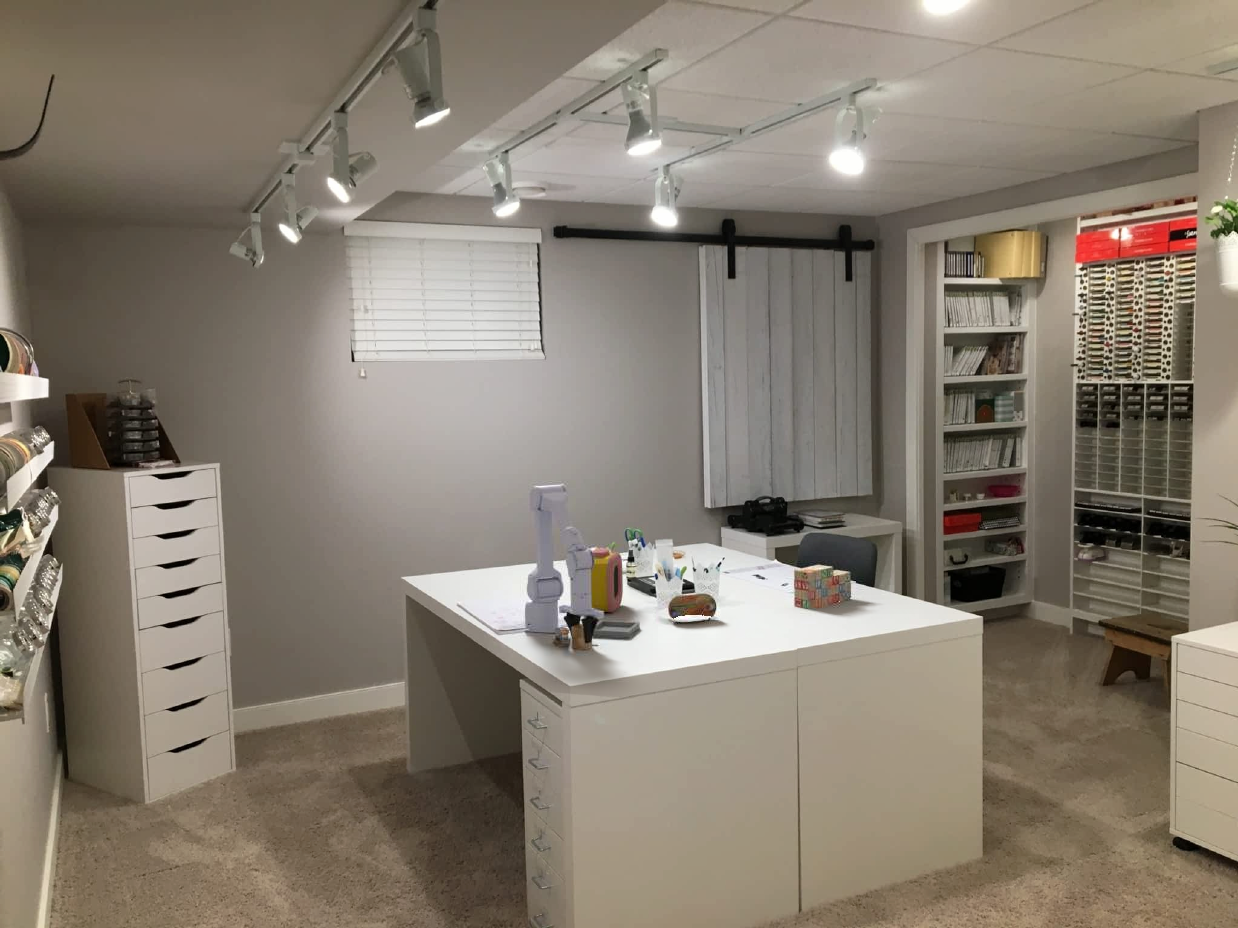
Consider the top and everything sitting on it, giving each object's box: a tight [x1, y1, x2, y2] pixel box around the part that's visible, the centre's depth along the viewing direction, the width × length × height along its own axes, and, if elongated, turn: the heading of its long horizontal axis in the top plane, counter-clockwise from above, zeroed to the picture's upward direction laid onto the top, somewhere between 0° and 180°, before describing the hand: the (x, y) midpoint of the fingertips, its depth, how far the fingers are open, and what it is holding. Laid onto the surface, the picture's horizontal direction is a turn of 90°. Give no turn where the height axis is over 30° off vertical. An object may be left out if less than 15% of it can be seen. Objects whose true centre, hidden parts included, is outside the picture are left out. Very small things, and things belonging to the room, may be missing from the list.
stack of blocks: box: [793, 564, 852, 610], centre depth 329 cm, size 21×6×12 cm, turn 129°
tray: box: [592, 619, 641, 640], centre depth 295 cm, size 12×12×2 cm
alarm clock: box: [590, 547, 624, 614], centre depth 325 cm, size 18×11×19 cm, turn 168°
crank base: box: [552, 637, 598, 647], centre depth 283 cm, size 13×5×1 cm, turn 73°
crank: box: [554, 626, 570, 645], centre depth 281 cm, size 9×4×4 cm, turn 13°
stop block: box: [571, 623, 593, 650], centre depth 280 cm, size 4×4×6 cm
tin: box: [667, 593, 717, 620], centre depth 308 cm, size 15×3×8 cm, turn 106°
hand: (581, 641), depth 280 cm, fingers closed on stop block, 4 cm apart
